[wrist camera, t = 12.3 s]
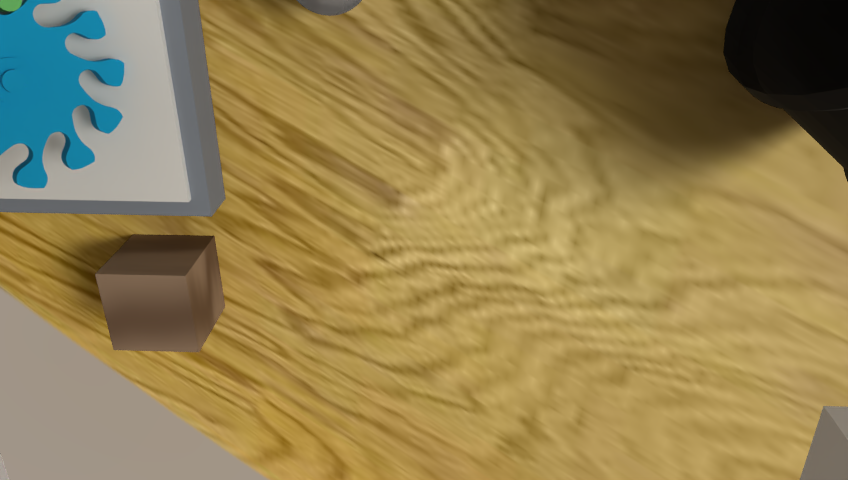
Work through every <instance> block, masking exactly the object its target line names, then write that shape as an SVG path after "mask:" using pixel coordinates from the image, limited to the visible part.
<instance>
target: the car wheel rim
mask: <svg viewBox="0 0 848 480" xmlns="http://www.w3.org/2000/svg"><path fill="white" fill-rule="evenodd" d="M724 56H725V59H726V63H727V66H728V70H729V72H730V73H731V74H732V75H733V76H734V77H735V78H736V79H737V80H738V81H739V82H740V83H741V84H742V85H743V86H744V87H745V88H746V89H747V90H748V91H749V92H750V93H751V94H752V95H753V96H754V97H755V98H757V99H758V100H760V101H762V102H763V103H766V104H768V105H771V106H774V107H777V108H783V109H784V110H785V111H786V112H787V113H788V114H789V115H790V116H791V117H792V118H793V119H794V120H795V121H796V122H797V123H798V124H799V125H800V126H801V127H802V128H803V129H804V130H806V131H807V132H808V133H809V134H810V135H811V136H812V137H813V138H814V139H815V140H816V141H817V142H818V143H819V144H820V145H821V146H822V147H823V148H824V149H825V150H826V151H827V152H828V153H829V154H830V155H831V156H832V157H833V158H834V159H835V160H836V161H837V162H838V163H840V164H841V165H842V166H843V168H844V172H845V176H846V179H847V181H848V0H736V1H735V4H734V7H733V10H732V13H731V16H730V18H729V21H728V24H727V27H726V32H725V42H724Z"/></svg>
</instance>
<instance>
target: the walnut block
mask: <svg viewBox="0 0 848 480" xmlns="http://www.w3.org/2000/svg"><path fill="white" fill-rule="evenodd" d="M95 276H96V280H97V284H98V288H99V292H100V296H101V300H102V305H103V309H104V313H105V317H106V321H107V325H108V329H109V333H110V337H111V341H112V345H113V349H114V350H137V351H174V352H199V351H200V350H201V348H202V346H203V344H204V343H205V341H206V339H207V337H208V336H209V334H210V332H211V330H212V329H213V327H214V325H215V323H216V322H217V320H218V318H219V316H220V315H221V313H222V311H223V309H224V308H225V302H224V296H223V289H222V283H221V276H220V270H219V263H218V257H217V250H216V243H215V237H214V236H190V235H135V234H133V235H132V236H131V237H130V238H129V239H128V240H127V241H126V242H125V243H124V245H123V246H122V247H121V248H120V249H119V250H118V251H117V252H116V253H115V254H114V255H113V256H112V257H111V258H110V259H109V260H108V261H107V262H106V263H105V264H104V265H103V266H102V267H101V268H100V269H99V270H98V272H97V273H96V274H95Z"/></svg>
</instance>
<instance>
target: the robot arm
mask: <svg viewBox="0 0 848 480" xmlns="http://www.w3.org/2000/svg"><path fill="white" fill-rule="evenodd" d="M0 480H10V479H9V476H8V474H7V471H6V468H5V465H4V462H3V460H2V457H1V454H0ZM800 480H848V407H838V406H824V407H823V410H822V413H821V416H820V419H819V422H818V425H817V428H816V431H815V434H814V437H813V441H812V444H811V447H810V450H809V453H808V456H807V459H806V462H805V465H804V468H803V471H802V474H801V478H800Z"/></svg>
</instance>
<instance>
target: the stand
mask: <svg viewBox="0 0 848 480" xmlns="http://www.w3.org/2000/svg"><path fill="white" fill-rule="evenodd" d="M22 1H23V0H22ZM92 10H93V11H97V12H98V14H99V16H100V18H101V19H102V22H103V24H104V27H105V31H106V35H105V36H104V37H102V38H100V39H86V38H83V37H81V36H79V35H77V34H75V33H72V34H70V35H68V36H67V38H66V40H65V46H66V49H67V50H68V51H69V52H70V53H71V54H73V55H75V56H77V57H80V58H82V59H85V60H88V61H98V60H102V59H107V58H110V59H117V60H120V61H122V62H123V63H124V78H123V82H122V84H121V86H110V85H105V84H103V83H102V82H100V81H99V80H98V78H97V77H96V76H95V75H94V73H93V72H92V71H90V70H85V71H83V72H82V73H81V74H80V76H79V83H80V85H81V87H82V88H83V89H84V91H85V92H86V93H87V94H88V95H89V96H90V97H91V98H92V99H93V100H95V101H96V102H98V103H100V104H101V105H104V106H109V107H113V108H115V109H117V110H118V111H120V113H121V114H122V116H123V118H122V120H121V121H120V123H119V125H118V126H117V127H116V128H115V129H114V130H113V131H112V132H111V133H109V134H107V133H104V132H101V131H98V130H97V129H95V128H94V127H93V125H92V123H91V119H90V113H89V110H88V109H87V107H86V106H84V105H80V106H77V107H76V108H75V109H74V110H73V113H72V118H73V124H74V128H75V131H76V133H77V135H78V137H79V138H80V140H81V141H82V142H83V143H84V144H85V145H86V146H87V147H88V148H90V149H91V150H92V151H93V153H94V155H95V162H93V163H91V164H90V165H88V166H86V167H83V168H80V169H76V170H72V169H70V168H68V167H67V166H65V165H64V163H63V162H62V159H61V154H62V151H63V148H64V146H65V137H64V135H63V134H62V133H61V132H55V133H52V134H51V135H50V136H49V137H48V139H47V142H46V144H45V147H44V150H43V157H42V159H43V166H44V169H45V171H46V174H47V177H48V182H47V185H46V186H45V188H26V187H22V186H19V185H17V184H16V183H14V181H13V178H12V175H13V171H14V169H15V168H16V167H17V166H18V165H19V164H21V163H22V162H23V161H25V160H26V159H27V157H28V154H29V151H28V148H27V146H26V145H25V144H21V143H20V144H15V145H13V146H12V147H10V148H9V149H7V150H6V151H5V152H4V153H3V154H1V155H0V212H26V213H75V214H123V215H172V216H212V215H213V214H214V213H215V211H216V210H217V209H218V207H219V206H220V205H221V204H222V202H223V201H224V200H225V192H224V185H223V178H222V171H221V163H220V156H219V149H218V142H217V134H216V127H215V120H214V113H213V105H212V98H211V91H210V84H209V76H208V69H207V62H206V54H205V47H204V40H203V33H202V25H201V18H200V11H199V4H198V0H60V1H59V2H57V3H51V4H39V5H37V6H36V7H35V8H34V10H33V17H34V20H35V21H36V23H38V24H39V25H40V26H42V27H56V26H61V25H64V24H66V23H68V22H70V21H71V20H72V19H73V18H74V17H75V16H76V15H77V14H78V13H80V12H82V11H92ZM9 12H10V11H9Z"/></svg>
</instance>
